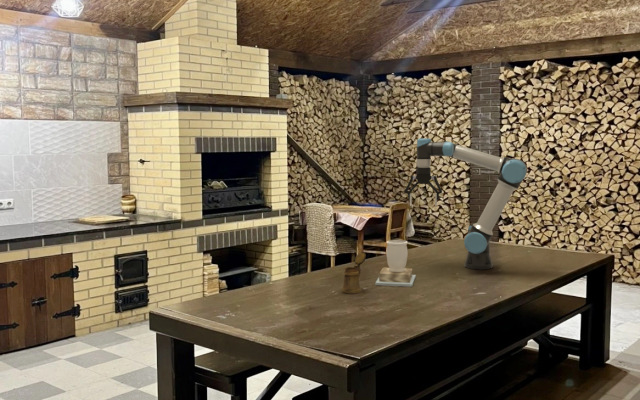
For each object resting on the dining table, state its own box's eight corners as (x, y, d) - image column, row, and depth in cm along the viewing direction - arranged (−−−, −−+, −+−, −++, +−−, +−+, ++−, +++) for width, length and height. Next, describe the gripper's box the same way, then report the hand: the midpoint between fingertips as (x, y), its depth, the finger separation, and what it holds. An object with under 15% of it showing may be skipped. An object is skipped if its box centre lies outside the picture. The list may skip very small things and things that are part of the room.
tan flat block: (412, 276, 343) (412, 268, 343) (409, 282, 329) (409, 274, 328) (383, 275, 346) (383, 267, 346) (379, 281, 332) (379, 273, 331)
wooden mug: (371, 289, 320) (371, 252, 318) (352, 294, 310) (352, 256, 308) (357, 286, 326) (357, 250, 324) (338, 291, 316) (338, 254, 315)
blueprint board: (415, 277, 346) (415, 274, 346) (412, 286, 325) (412, 284, 325) (381, 275, 350) (381, 273, 350) (375, 285, 329) (375, 282, 329)
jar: (407, 269, 342) (407, 240, 340) (407, 273, 331) (407, 243, 330) (386, 268, 343) (386, 239, 341) (386, 272, 333) (386, 243, 331)
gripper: (447, 166, 363) (446, 205, 366) (401, 166, 369) (401, 204, 371) (446, 167, 356) (446, 207, 358) (399, 167, 362) (399, 206, 364)
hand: (423, 205), depth 365 cm, fingers open, 13 cm apart
